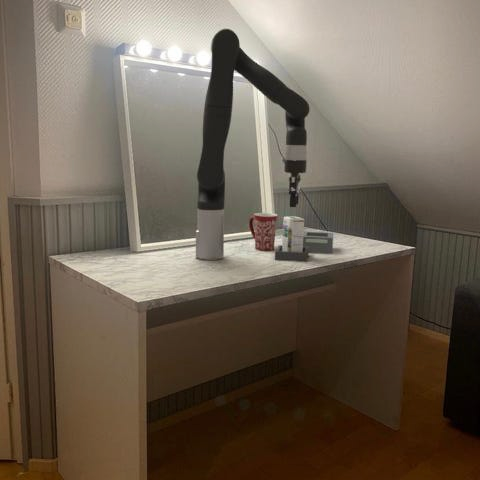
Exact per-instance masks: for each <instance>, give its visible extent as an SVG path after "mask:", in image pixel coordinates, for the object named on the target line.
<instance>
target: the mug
mask: <svg viewBox="0 0 480 480" xmlns="http://www.w3.org/2000/svg"><path fill="white" fill-rule="evenodd" d="M278 217H279V216H278V214H276V213H271V212H257V213H253V216H252V217H250V218H249V222H248V225H249V226H248V227H249V231H250V233H251V236H252V238H253V240H254V249H255V250H257V251H260V252H261V251H262V252H264V251H265V252H270V251H275V240H276V231H277V221H278ZM253 222H254V225H253Z"/></svg>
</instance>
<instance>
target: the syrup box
mask: <svg viewBox="0 0 480 480" xmlns="http://www.w3.org/2000/svg"><path fill="white" fill-rule="evenodd" d="M304 230H305V218H302V217H298V216H295V215H292V216H291V215H288V216H283V224H282V244H281V246H282V251H288V252H303V234H304Z"/></svg>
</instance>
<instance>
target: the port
mask: <svg viewBox="0 0 480 480" xmlns="http://www.w3.org/2000/svg"><path fill="white" fill-rule="evenodd" d="M333 246H334V232H323V231H307V230H305V231H304V234H303V247H309V253H311V254H329V255H333Z"/></svg>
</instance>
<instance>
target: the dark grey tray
mask: <svg viewBox="0 0 480 480" xmlns="http://www.w3.org/2000/svg"><path fill="white" fill-rule="evenodd" d="M308 257H309V247H303V252H288V251H282V244H281V245H278V246H277V248H276V249H275V250H274V260H276V261H287V260H288V262H289V261H291V262H304V263H305V262H308Z"/></svg>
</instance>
